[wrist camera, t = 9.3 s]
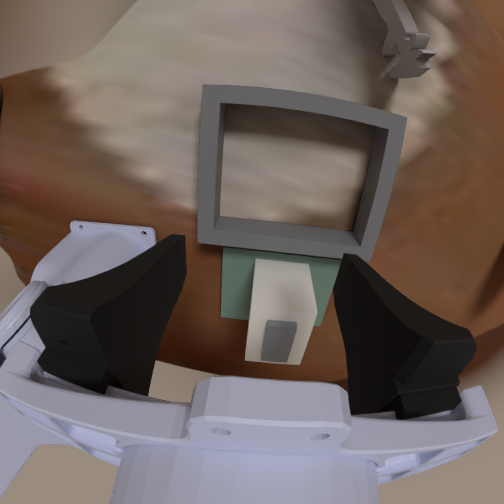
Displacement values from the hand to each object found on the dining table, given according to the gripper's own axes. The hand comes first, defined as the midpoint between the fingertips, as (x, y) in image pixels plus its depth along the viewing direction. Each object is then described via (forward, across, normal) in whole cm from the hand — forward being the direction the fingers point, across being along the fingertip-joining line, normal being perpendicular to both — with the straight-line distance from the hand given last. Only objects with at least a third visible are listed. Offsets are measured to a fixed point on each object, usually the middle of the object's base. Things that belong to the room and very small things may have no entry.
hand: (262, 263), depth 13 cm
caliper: (+10, -5, -20) cm, 23 cm away
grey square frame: (+10, -2, -2) cm, 10 cm away
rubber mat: (+10, -2, +9) cm, 14 cm away
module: (+9, -2, +9) cm, 13 cm away
